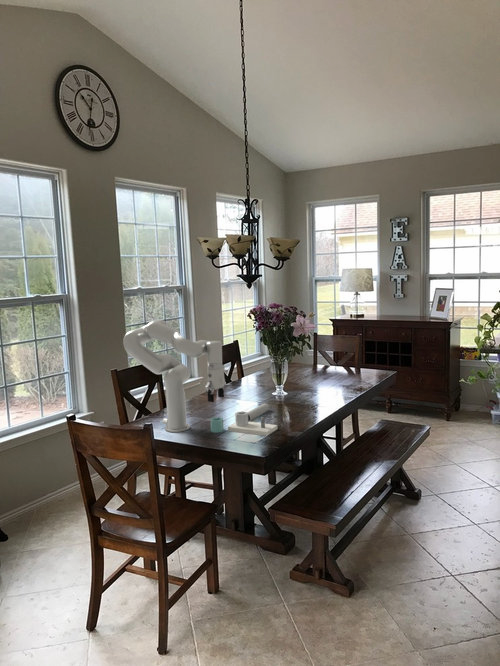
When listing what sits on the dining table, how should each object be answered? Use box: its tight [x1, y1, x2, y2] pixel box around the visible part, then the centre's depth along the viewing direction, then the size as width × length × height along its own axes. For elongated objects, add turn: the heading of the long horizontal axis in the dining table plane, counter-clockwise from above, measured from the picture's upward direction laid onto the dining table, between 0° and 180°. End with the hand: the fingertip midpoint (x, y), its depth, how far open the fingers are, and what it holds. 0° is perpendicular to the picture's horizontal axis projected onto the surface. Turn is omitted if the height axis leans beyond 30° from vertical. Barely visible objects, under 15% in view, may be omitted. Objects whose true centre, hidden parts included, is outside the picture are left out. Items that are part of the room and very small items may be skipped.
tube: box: [246, 402, 270, 422], centre depth 298 cm, size 5×5×25 cm
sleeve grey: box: [234, 411, 248, 427], centre depth 276 cm, size 6×6×6 cm
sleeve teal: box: [209, 416, 225, 434], centre depth 274 cm, size 6×6×6 cm
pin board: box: [227, 416, 278, 437], centre depth 273 cm, size 22×12×7 cm, turn 62°
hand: (216, 399), depth 272 cm, fingers open, 9 cm apart
